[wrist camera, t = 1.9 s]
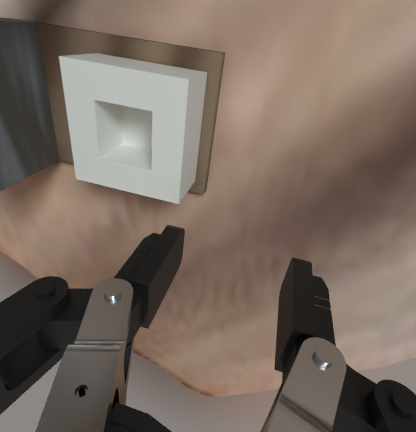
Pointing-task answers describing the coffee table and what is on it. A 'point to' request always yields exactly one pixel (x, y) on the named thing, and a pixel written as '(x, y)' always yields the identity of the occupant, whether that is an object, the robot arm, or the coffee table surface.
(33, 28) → the jig
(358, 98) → the coffee table surface
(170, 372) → the coffee table surface
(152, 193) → the socket
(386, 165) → the coffee table surface
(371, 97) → the coffee table surface
